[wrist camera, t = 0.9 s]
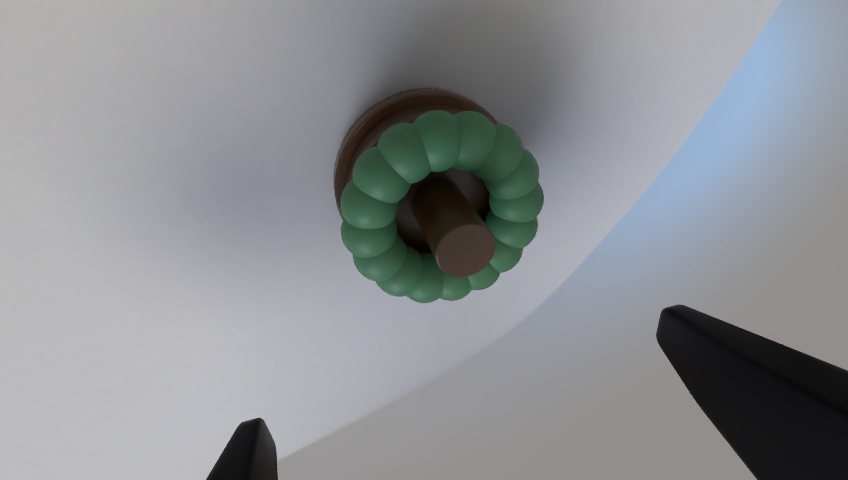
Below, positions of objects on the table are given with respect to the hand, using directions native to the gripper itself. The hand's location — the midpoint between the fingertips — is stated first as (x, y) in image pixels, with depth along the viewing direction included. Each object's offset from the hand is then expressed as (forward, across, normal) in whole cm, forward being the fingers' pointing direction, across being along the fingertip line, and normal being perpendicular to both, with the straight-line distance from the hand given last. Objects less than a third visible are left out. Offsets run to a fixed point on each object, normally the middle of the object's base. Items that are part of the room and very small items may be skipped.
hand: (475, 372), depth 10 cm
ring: (+8, -1, 0) cm, 9 cm away
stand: (+11, -1, 0) cm, 11 cm away
